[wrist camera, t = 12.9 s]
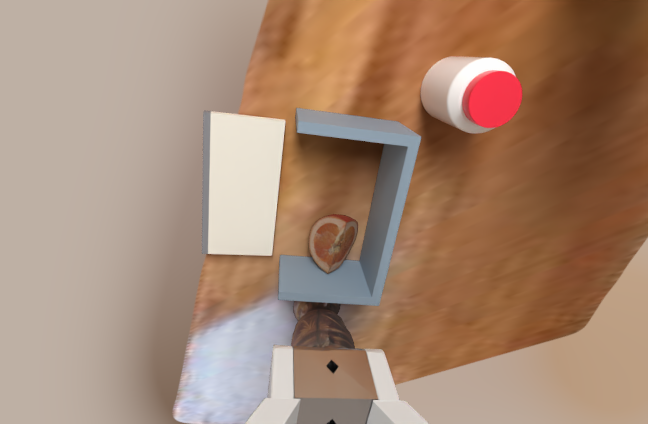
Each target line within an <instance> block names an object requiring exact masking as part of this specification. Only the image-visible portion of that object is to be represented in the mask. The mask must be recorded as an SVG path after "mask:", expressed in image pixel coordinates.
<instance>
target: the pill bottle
mask: <svg viewBox="0 0 648 424" xmlns="http://www.w3.org/2000/svg"><path fill="white" fill-rule="evenodd" d="M421 101H422V104H423V107H424V108H425V110H426V111H427V112H428V113H429V114H430V115H431V116H432V117H434V118H436V119H438V120H440V121H442V122H444V123H447V124H449V125H451V126H453V127H455V128H457V129H460V130H462V131H465V132H467V133H473V134H476V133H484V132H487V131H490V130H492V129H494V128H496V127H499V126H501V125H503V124H505V123H506V122H508V121H509V120H510V119H511V118H512V117H513V116H514V115H515V114H516V112H517V110H518V109H519V107H520V104H521V101H522V87H521V84H520V82H519V80H518V79H517V78H516V75H515V73H514V71H513V70H512V68H511V67H510V66H509V65H508V64H506V63H505V62H504V61H502V60H499V59H496V58H490V57H465V56H452V57H447V58H444V59H442V60H440V61H438V62H437V63H435V64H434V65H433V66H432V67H431V68H430V69H429V70H428V72H427V74H426V75H425V77H424V79H423V82H422V86H421Z"/></svg>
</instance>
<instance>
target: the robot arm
mask: <svg viewBox="0 0 648 424" xmlns="http://www.w3.org/2000/svg"><path fill="white" fill-rule="evenodd" d="M245 424H429V423H428V422H427V421H426V420H425V419H424V418H423V417H422V416H421V415H420V414H419V413H418V412H417V411H416V410H415V409H413V408H412V407H411V406H410V405H409V404H408V403H407V402H406V401H400V399H399V396H398V393H397V390H396V387H395V384H394V381H393V377H392V374H391V371H390V368H389V365H388V362H387V359H386V356H385V353H384V351H383V350H382V349H351V348H320V347H305V346H293V347H292V346H283V345H274V346H273V351H272V359H271V368H270V376H269V386H268V396H267V398H264V400H263V401H262V402H261V404H260V405H259V406H258V407H257V409H256V410H255V411H254V412H253V414H252V415H251V416H250V418H249V419H248V420H247V421H246V423H245Z"/></svg>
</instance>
